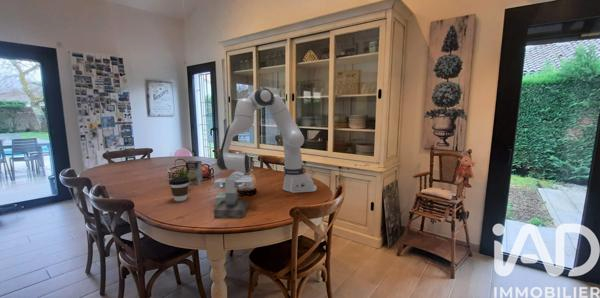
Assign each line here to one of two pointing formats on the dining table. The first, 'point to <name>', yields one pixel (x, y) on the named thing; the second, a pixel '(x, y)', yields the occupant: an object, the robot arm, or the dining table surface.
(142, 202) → the dining table surface
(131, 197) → the dining table surface
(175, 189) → the coffee cup
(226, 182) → the housing
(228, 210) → the stand
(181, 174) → the house plant
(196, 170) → the coffee box
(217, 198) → the stand
